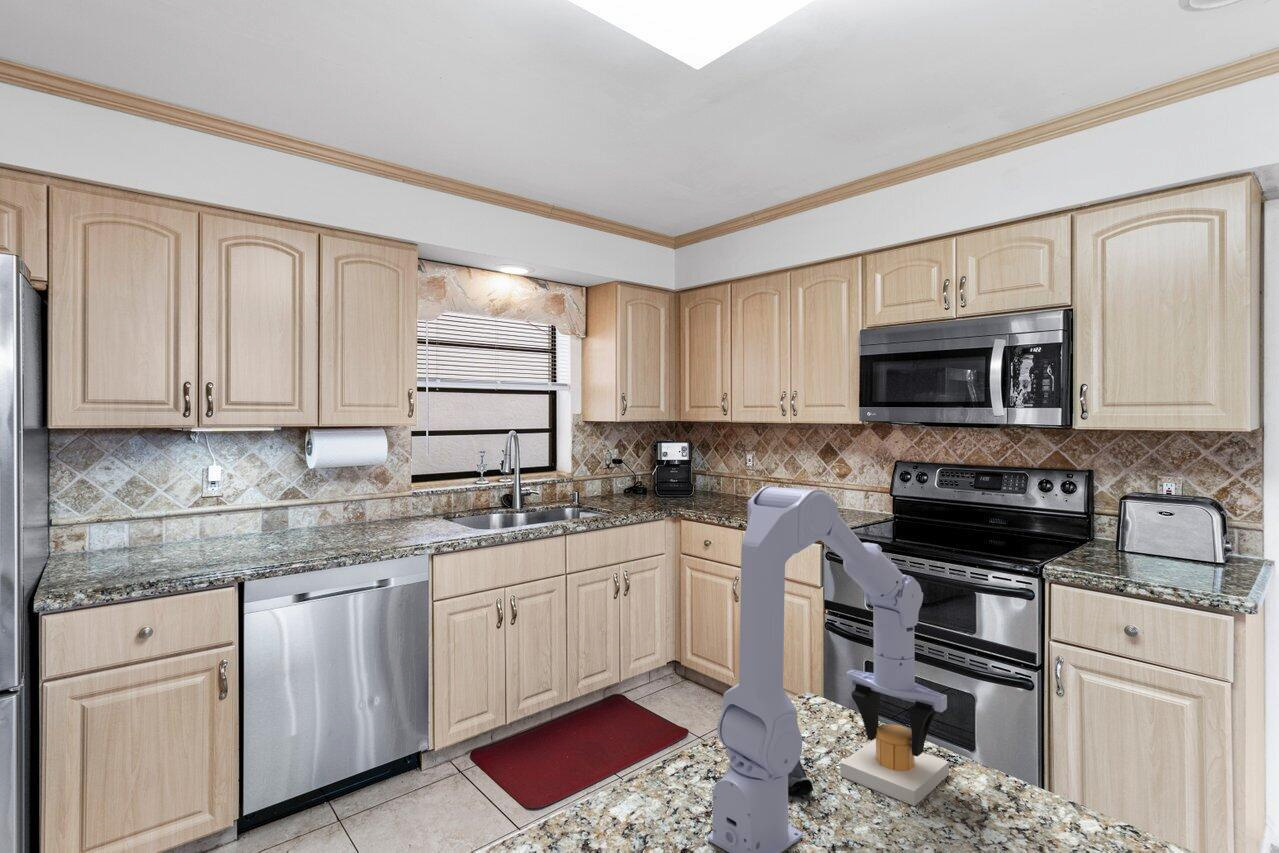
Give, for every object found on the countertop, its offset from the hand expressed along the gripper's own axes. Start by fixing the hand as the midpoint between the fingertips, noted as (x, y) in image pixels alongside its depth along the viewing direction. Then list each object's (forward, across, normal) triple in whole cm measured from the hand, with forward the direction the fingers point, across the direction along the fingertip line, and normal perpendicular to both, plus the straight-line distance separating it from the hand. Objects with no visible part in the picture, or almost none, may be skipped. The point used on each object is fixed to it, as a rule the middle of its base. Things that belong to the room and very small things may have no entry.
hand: (894, 745), depth 96 cm
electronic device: (+5, +13, +12) cm, 19 cm away
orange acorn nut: (+2, 0, 0) cm, 2 cm away
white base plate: (+4, 0, 0) cm, 4 cm away
